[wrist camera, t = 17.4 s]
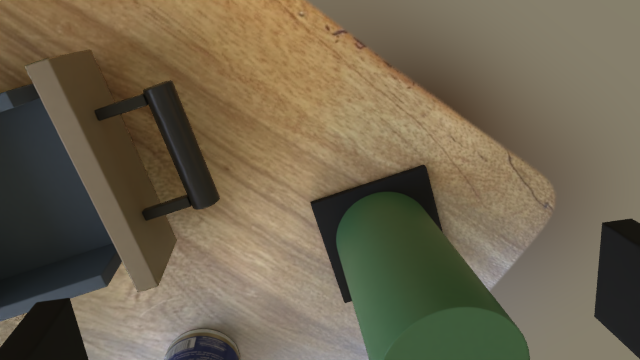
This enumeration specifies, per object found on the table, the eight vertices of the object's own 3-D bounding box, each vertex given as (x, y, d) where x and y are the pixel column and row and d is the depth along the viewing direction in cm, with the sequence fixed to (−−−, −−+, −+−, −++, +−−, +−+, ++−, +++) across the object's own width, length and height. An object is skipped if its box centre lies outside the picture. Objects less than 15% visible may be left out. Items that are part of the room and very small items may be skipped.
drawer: (163, 25, 29) (137, 27, 23) (240, 219, 33) (234, 261, 27) (-152, 129, 29) (-254, 157, 23) (-36, 310, 33) (-98, 370, 27)
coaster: (449, 265, 36) (451, 268, 36) (343, 299, 36) (344, 303, 36) (424, 164, 34) (426, 166, 33) (310, 201, 34) (310, 204, 33)
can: (440, 262, 36) (541, 409, 22) (351, 291, 36) (399, 455, 22) (418, 178, 34) (516, 286, 20) (323, 209, 34) (359, 336, 20)
